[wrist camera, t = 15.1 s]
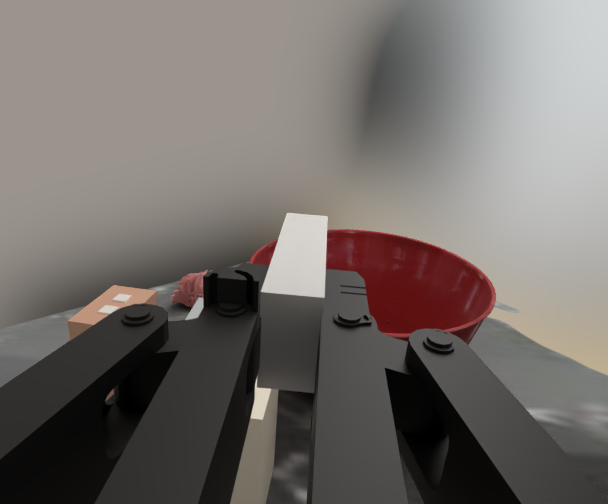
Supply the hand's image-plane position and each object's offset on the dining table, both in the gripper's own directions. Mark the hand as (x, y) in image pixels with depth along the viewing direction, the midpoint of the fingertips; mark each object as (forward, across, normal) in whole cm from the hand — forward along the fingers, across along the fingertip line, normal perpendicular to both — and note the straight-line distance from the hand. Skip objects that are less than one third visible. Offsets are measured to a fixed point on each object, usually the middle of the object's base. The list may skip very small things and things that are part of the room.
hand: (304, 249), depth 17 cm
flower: (+48, -19, -30) cm, 60 cm away
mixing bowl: (+34, +7, -30) cm, 46 cm away
